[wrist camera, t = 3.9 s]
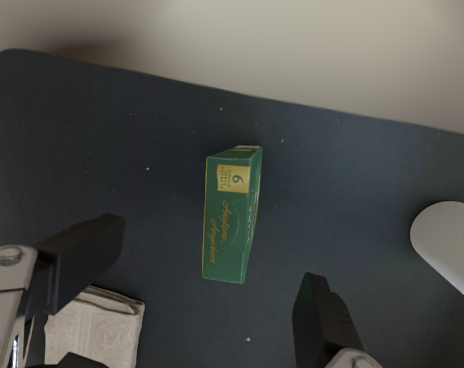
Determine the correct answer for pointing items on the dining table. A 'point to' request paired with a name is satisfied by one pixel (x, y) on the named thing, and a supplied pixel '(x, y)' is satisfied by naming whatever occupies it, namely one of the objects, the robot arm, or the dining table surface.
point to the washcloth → (96, 328)
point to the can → (442, 240)
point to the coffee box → (230, 212)
